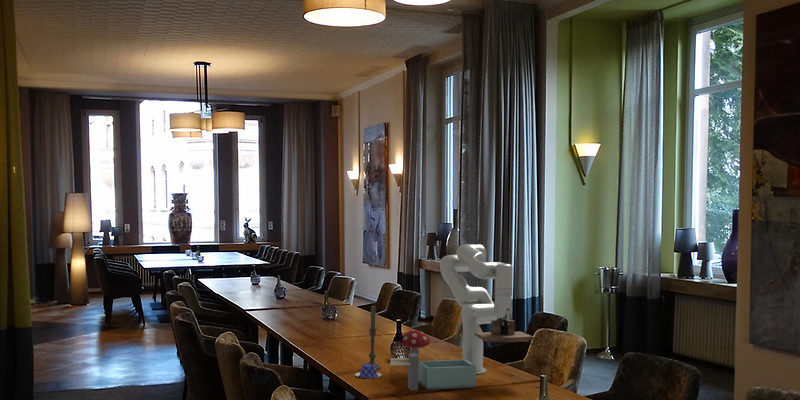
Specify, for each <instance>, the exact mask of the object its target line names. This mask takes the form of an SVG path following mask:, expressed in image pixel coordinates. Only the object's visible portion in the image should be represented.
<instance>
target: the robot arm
mask: <svg viewBox="0 0 800 400" xmlns="http://www.w3.org/2000/svg"><path fill="white" fill-rule="evenodd" d="M439 269H440V274H441V277H442V278H443V280H444V281H445V282H446V284H447V285H448V287H449V288H450V291H451V292H452V294H453V296H454V298H455V300H456V302H457V304H458V305H459V307H462V309H461V312H460V314H461V315H460V316H461V323H462V360H467V361H469V362H470V363H472V364H473V365H475V366H476V375H482V374H485V373H487V369H486V368H485V367H484V364H483V363H484V362H483V361H484V340H482V339H480V338H479V337H477V336H475V333H476V332H483V330H482V328H481V326H480V325H485V324H486V325H487V324H491V320H502V325H501V334H502V335H507V334H508V325H509V321H510V320H511V318H512V316H513V315H512V314H513V307H512V306H513V305H512V296H513V277H514V275H513V271H514V270H513V265H512V264H510V263H504V262H502V261H501V262H500V261H495V262H494V261H489V262H488V261H487V249H486V247H484V245H482V244H480V243H479V244H473V243H472V244H471V243H469V244H468V243H467V244H466V243H465V244H462V245H460V246H458V247H457V248H456V253H455V254H449V255H445V256H443V257H442V258H441V259H440V262H439ZM460 272H461V273H462V272H463V273H464V272H470V273H471V274H472V275H473V276H474V277H475V278H478V279H480V280H494V281H495V282H494V295H495V296H494V301H493V299H492V298H491V296H490V294H489V292H488V291H487V289H485V288H484V287H482V286H471V285H469V284H468V282H467V280H466V278H465V277H463V275H461V274H460Z"/></svg>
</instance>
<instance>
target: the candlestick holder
mask: <svg viewBox="0 0 800 400" xmlns="http://www.w3.org/2000/svg"><path fill="white" fill-rule="evenodd" d="M368 331H369V333H368V334H369V336H371V337H370V353H369V354H368V358H369V362H367V363H366V364H374V365H375V367H376V371H378V370H381V369H383V367H382V365H380V364H379V363H377V362H376V361H375V359H376V357H377V353H375V351H374V350H375V341H376V340H375V336H376V335H377V331H378V329H377V328H376V306H375V305H374V304H372V306H370V328H369V329H368Z"/></svg>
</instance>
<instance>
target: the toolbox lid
mask: <svg viewBox="0 0 800 400" xmlns="http://www.w3.org/2000/svg"><path fill="white" fill-rule="evenodd" d="M490 324H491V327H490V328H491V330H490V331H489V332H488V331H487V332H486V331H482V332H476V333H475V336H477V337H479V338H480V339H482V340H483V342H486V343H489V344H490V343H517V342H522V343H523V342H530V341H533V340H534V339H535V338H534V336H532V335H530V334H528V333H525V332H523V331H522V330H521V331H520V330H519V331H516V321H515V320H514V319H510V321H509V325H508V334H507V335H502V334H501V325H502V320H498V319H497V320H491V323H490Z"/></svg>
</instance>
